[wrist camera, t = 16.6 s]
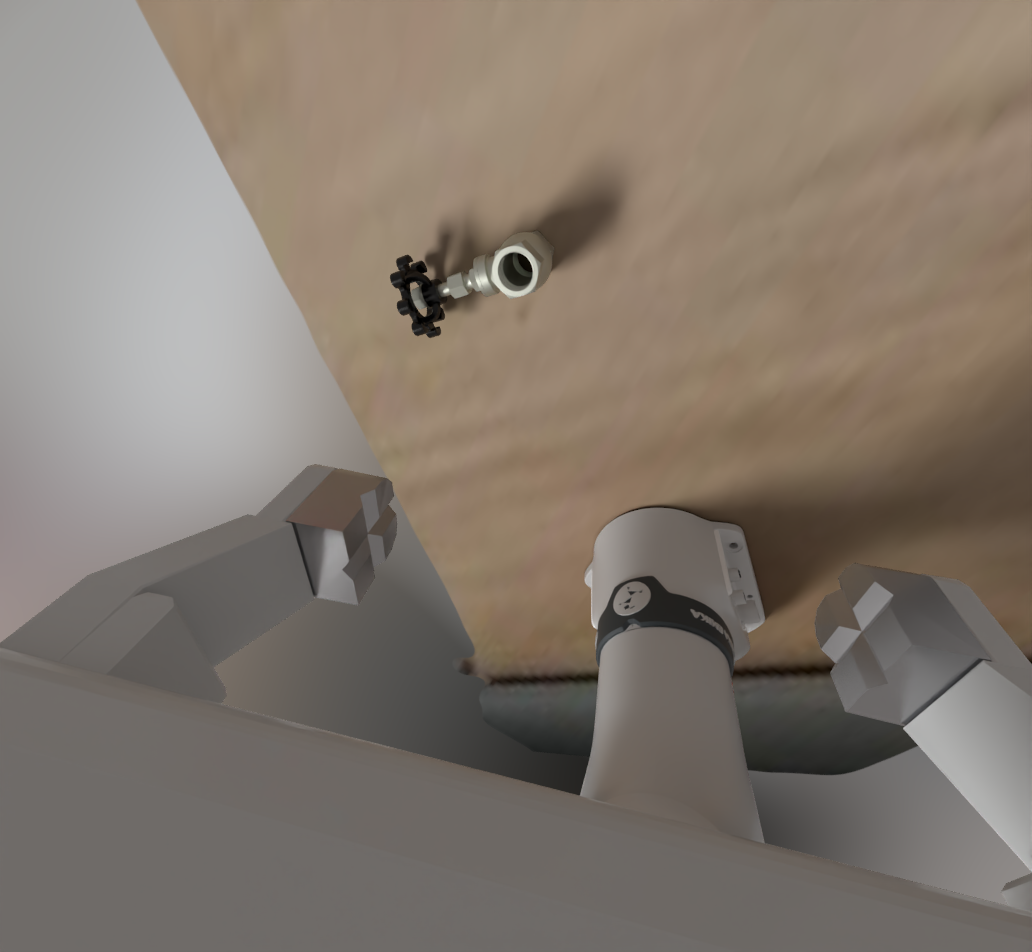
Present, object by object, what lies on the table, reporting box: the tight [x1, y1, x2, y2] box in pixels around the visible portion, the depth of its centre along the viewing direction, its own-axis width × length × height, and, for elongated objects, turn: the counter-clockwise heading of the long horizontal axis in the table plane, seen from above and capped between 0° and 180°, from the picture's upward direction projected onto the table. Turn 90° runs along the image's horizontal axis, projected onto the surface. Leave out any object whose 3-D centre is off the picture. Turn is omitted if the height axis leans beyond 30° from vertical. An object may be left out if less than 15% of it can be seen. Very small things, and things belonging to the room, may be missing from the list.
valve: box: [390, 230, 555, 338], centre depth 36 cm, size 7×7×12 cm
